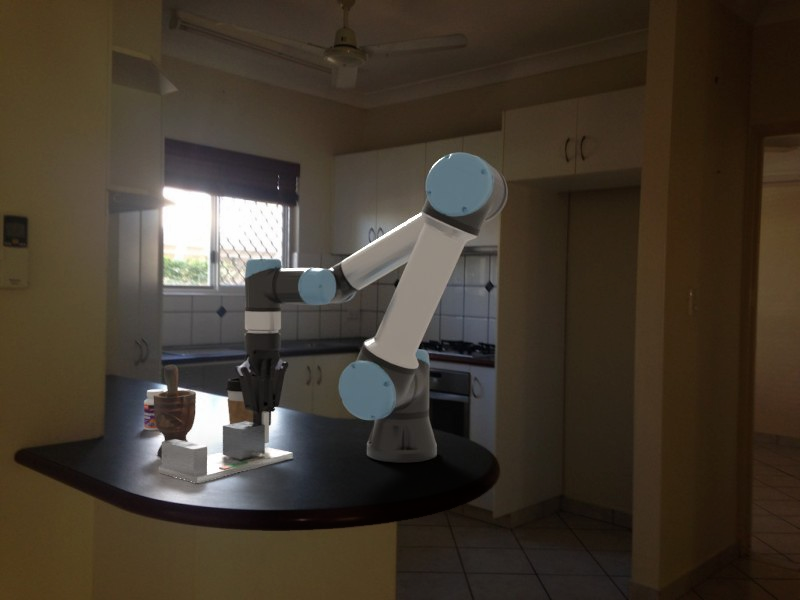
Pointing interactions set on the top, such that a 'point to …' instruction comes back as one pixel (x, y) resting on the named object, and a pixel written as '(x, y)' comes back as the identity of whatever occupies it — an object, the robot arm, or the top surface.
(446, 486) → the top surface
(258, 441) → the grey rectangular block
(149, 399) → the pill bottle
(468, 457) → the top surface
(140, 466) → the top surface
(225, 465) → the gauge base
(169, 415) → the mortar and pestle
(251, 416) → the coffee cup
